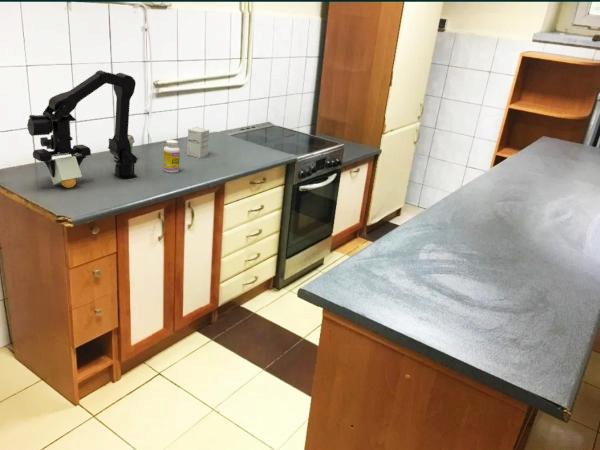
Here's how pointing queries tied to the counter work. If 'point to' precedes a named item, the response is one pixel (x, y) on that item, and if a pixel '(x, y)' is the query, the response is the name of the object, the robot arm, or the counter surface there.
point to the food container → (130, 144)
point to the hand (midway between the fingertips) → (63, 175)
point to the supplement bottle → (171, 157)
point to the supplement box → (197, 142)
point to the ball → (69, 183)
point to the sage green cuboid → (66, 169)
